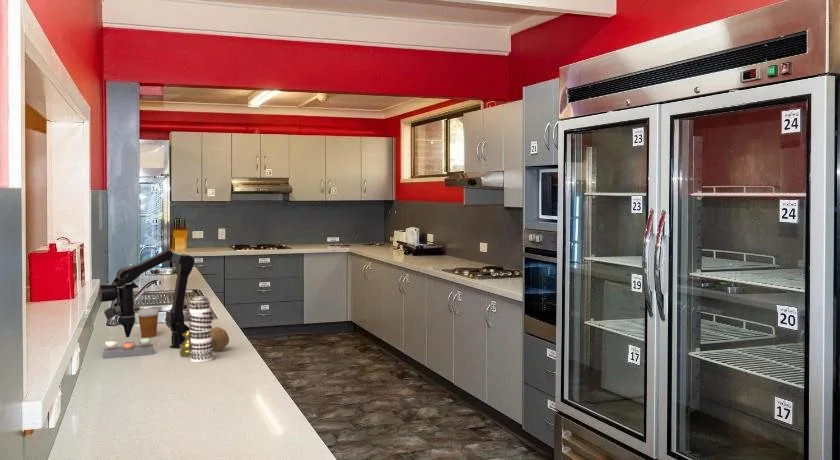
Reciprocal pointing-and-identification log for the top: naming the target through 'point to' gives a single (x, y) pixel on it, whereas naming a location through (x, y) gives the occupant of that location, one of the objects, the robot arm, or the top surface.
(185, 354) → the gold metal figurine
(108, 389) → the top surface
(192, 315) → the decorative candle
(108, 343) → the cream button
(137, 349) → the button panel
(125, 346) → the terracotta button
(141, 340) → the sage button
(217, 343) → the brown rounded lump
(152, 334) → the disposable coffee cup
